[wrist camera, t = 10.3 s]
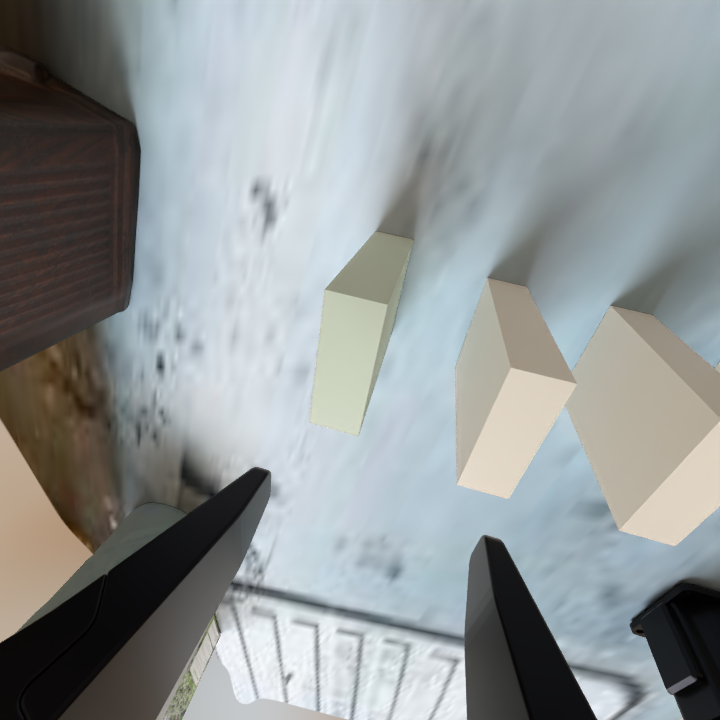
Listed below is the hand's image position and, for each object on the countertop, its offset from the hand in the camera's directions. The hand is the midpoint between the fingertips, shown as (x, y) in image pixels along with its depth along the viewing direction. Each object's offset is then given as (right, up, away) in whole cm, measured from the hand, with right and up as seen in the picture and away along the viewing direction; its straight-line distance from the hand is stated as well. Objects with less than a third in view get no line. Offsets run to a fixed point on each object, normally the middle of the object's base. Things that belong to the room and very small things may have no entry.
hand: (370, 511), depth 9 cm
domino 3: (+11, +4, +9) cm, 15 cm away
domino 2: (+6, +5, +9) cm, 12 cm away
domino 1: (+1, +7, +9) cm, 12 cm away
